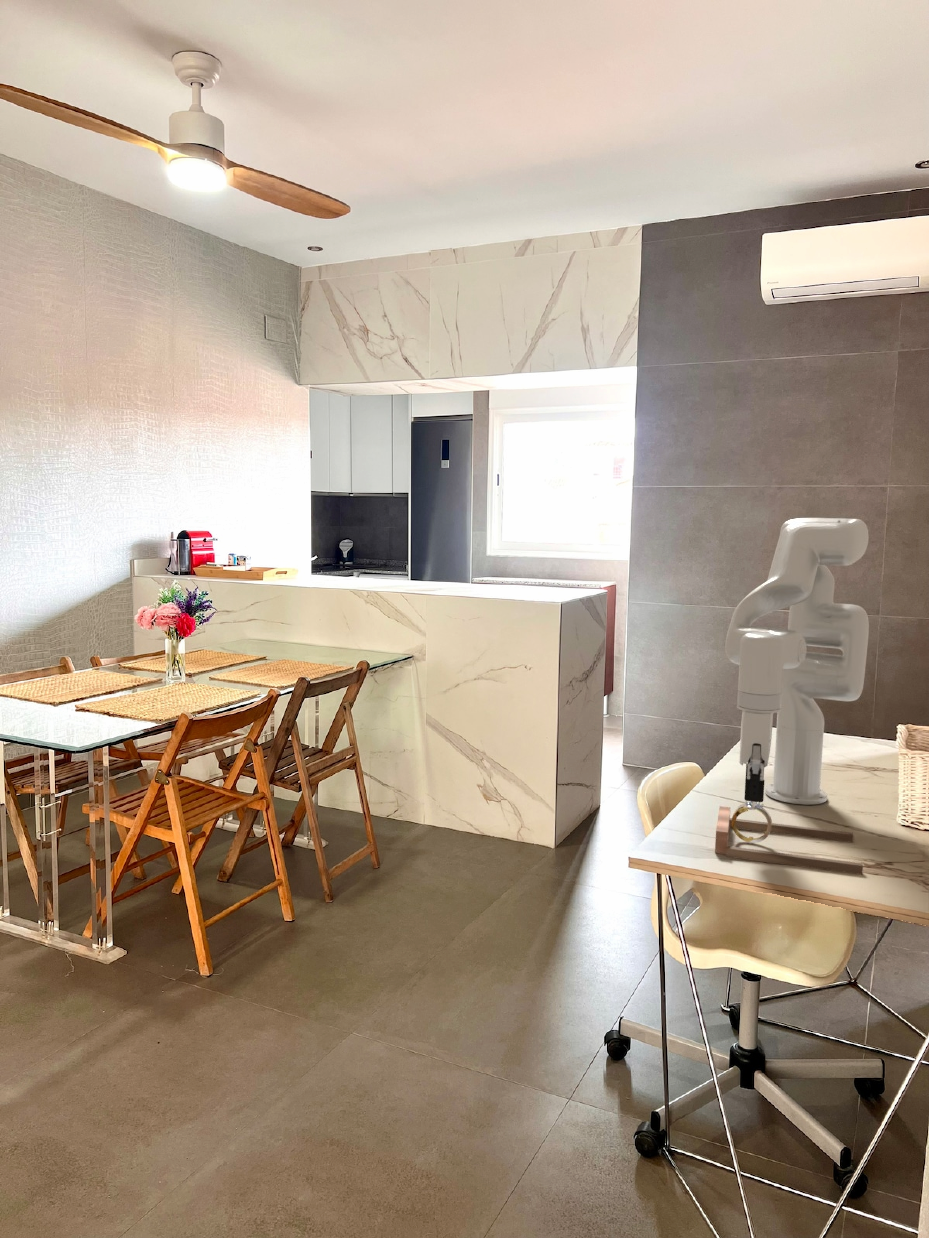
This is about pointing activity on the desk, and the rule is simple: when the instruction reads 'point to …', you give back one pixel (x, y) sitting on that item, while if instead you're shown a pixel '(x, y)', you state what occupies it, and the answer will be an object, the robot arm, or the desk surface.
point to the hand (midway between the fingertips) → (753, 792)
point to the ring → (747, 806)
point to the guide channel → (781, 858)
